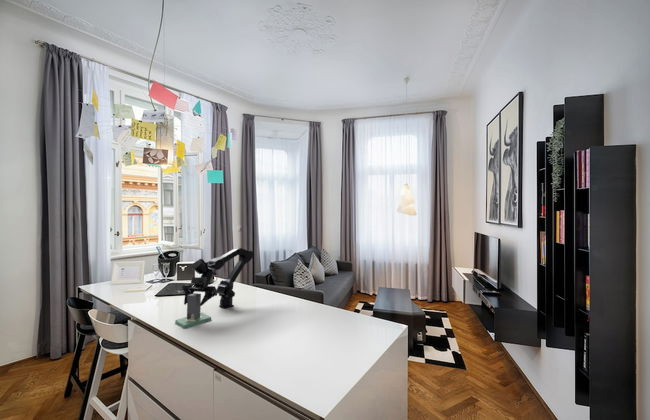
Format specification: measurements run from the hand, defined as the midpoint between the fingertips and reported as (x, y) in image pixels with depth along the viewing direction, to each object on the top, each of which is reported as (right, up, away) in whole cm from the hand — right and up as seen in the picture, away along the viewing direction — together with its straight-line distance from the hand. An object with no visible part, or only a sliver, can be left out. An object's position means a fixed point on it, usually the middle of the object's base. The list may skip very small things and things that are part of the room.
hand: (192, 304), depth 138 cm
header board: (0, -9, +1) cm, 9 cm away
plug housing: (0, -8, +1) cm, 8 cm away
